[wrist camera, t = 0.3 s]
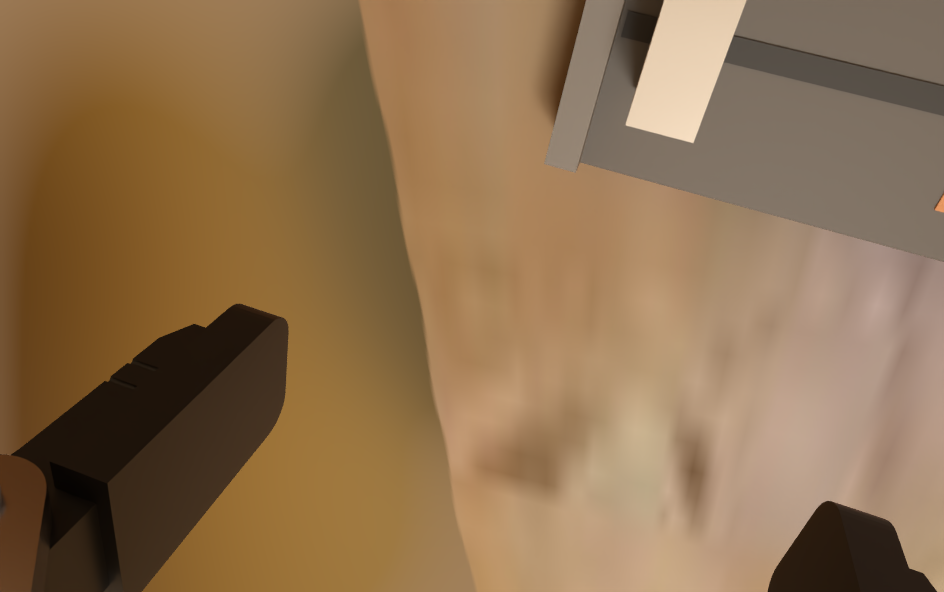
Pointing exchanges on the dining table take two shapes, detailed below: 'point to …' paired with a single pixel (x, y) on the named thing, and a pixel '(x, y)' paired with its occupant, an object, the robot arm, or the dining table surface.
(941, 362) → the dining table surface
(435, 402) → the dining table surface
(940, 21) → the console
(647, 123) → the fader tab
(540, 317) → the dining table surface
